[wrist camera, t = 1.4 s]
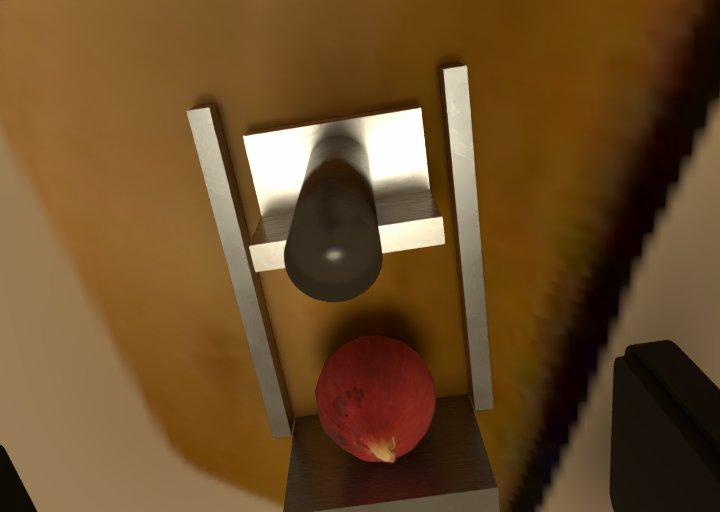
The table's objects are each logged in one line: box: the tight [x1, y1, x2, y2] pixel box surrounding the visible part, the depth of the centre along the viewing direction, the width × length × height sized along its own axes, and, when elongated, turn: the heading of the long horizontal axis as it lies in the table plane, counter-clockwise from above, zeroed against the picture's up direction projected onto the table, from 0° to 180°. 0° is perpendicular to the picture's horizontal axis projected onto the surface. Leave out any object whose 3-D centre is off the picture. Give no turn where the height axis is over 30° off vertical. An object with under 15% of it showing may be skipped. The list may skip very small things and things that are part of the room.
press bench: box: [187, 63, 499, 512], centre depth 27 cm, size 20×12×7 cm, turn 9°
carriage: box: [243, 104, 445, 302], centre depth 22 cm, size 5×8×12 cm, turn 99°
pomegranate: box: [315, 335, 436, 463], centre depth 28 cm, size 6×6×8 cm
